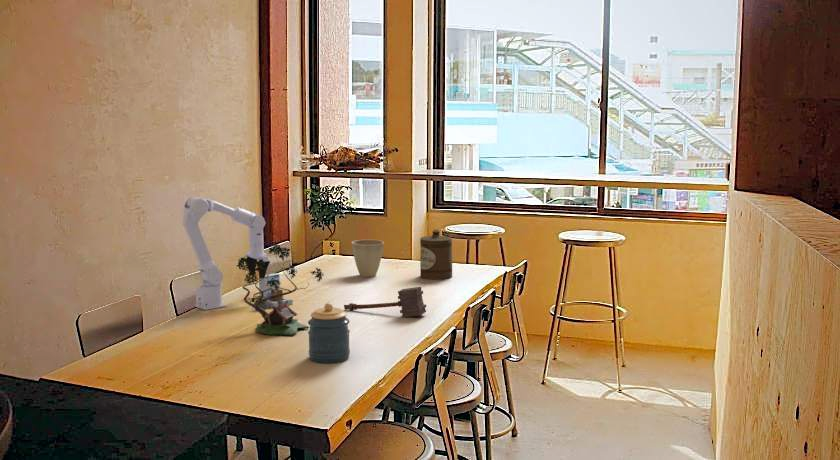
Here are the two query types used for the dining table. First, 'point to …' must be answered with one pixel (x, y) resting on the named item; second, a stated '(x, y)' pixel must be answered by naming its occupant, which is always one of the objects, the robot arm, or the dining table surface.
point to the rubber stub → (263, 305)
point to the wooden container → (436, 256)
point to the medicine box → (264, 282)
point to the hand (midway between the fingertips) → (257, 276)
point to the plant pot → (367, 256)
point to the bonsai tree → (282, 315)
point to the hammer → (400, 303)
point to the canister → (328, 335)
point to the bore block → (272, 303)
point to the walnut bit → (276, 294)
